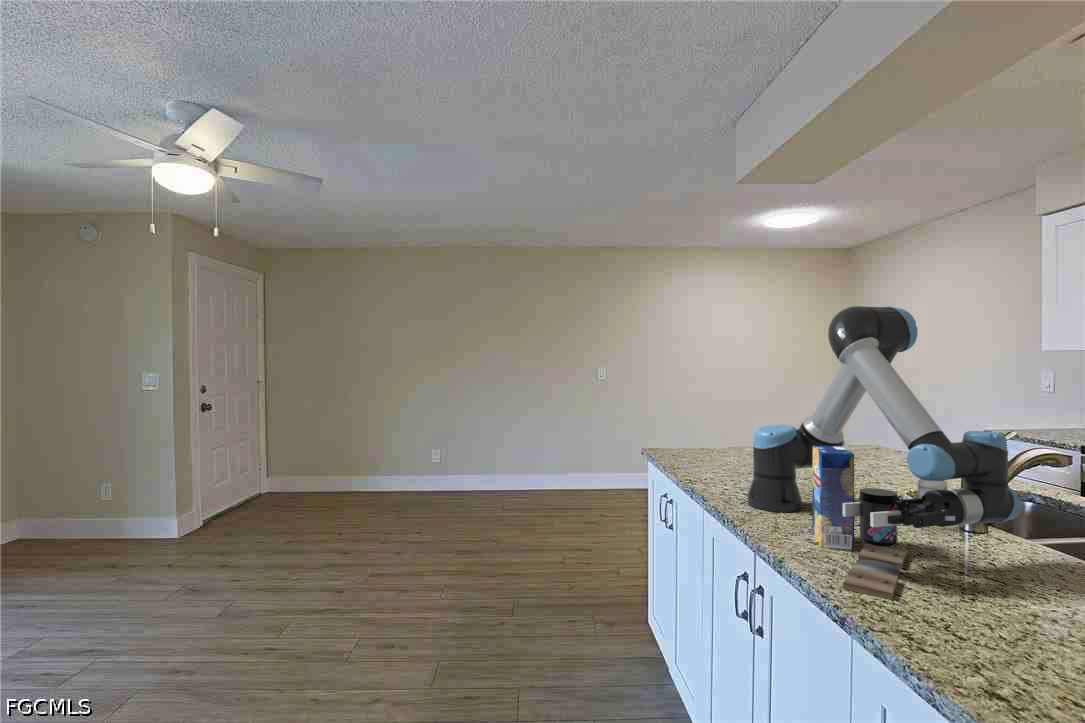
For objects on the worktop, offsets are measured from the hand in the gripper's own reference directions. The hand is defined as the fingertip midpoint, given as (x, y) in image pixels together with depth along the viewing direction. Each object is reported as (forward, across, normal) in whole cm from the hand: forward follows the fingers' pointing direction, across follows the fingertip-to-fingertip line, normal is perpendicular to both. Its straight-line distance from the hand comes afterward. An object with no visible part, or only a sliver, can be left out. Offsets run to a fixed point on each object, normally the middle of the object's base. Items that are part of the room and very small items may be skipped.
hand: (857, 514), depth 114 cm
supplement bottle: (-50, +29, -12) cm, 59 cm away
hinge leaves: (-5, 0, -12) cm, 13 cm away
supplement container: (-5, 0, -6) cm, 8 cm away
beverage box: (-9, +18, -12) cm, 24 cm away
